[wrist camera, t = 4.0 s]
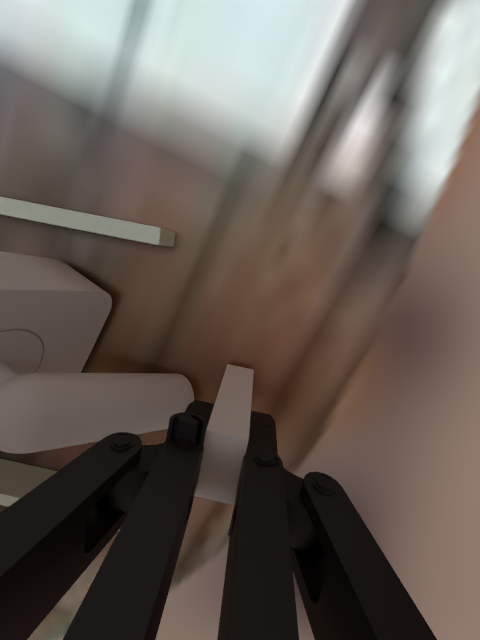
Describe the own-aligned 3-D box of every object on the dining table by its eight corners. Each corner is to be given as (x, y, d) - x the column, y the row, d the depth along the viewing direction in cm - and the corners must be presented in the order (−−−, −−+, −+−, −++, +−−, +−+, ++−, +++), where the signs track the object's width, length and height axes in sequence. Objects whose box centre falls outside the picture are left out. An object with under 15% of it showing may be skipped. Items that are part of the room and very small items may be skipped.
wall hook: (168, 460, 19) (6, 628, 9) (51, 367, 21) (-180, 427, 11) (231, 354, 17) (112, 428, 8) (98, 263, 19) (-128, 233, 10)
